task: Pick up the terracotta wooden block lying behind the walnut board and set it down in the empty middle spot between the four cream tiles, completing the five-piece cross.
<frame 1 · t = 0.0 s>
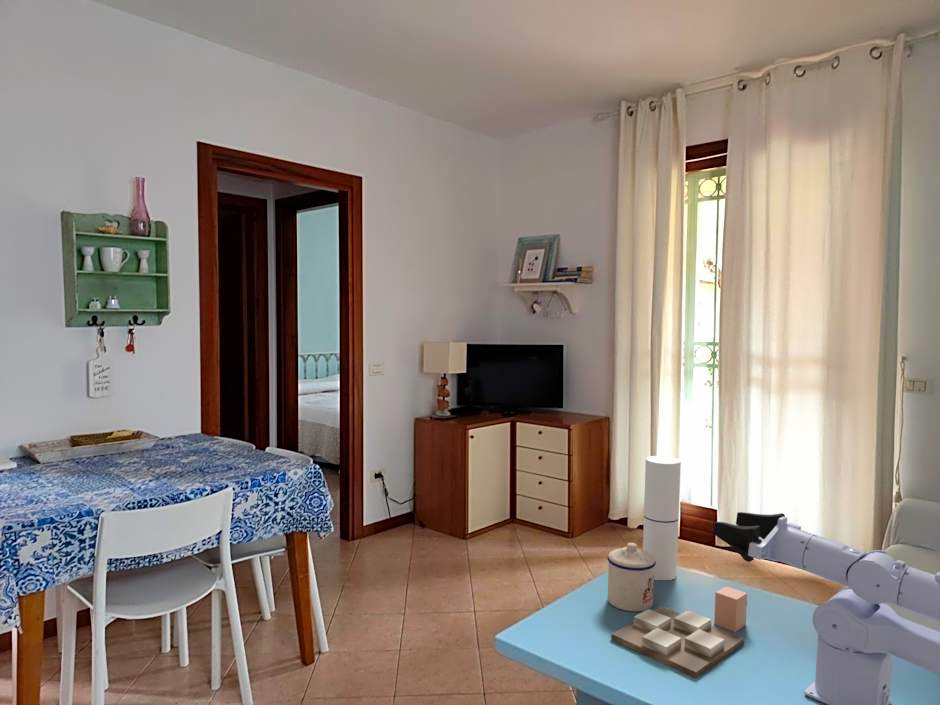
hand: (726, 522, 113), 22 cm above the table, tool horizontal, fingers open, 7 cm apart
teacup with lid: (630, 600, 133), on the table
terracotta block: (729, 624, 123), on the table
cylindrical container: (659, 574, 146), on the table
walnut board: (677, 641, 117), on the table
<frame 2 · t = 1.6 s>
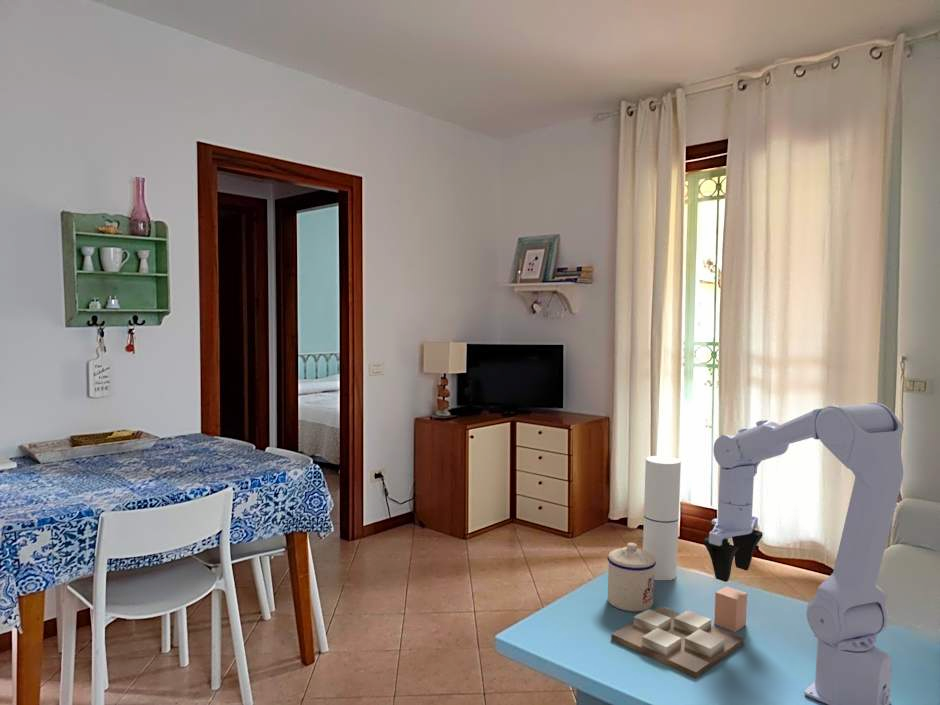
hand: (732, 574, 123), 9 cm above the table, tool pointing down, fingers open, 7 cm apart
nothing on the table moved.
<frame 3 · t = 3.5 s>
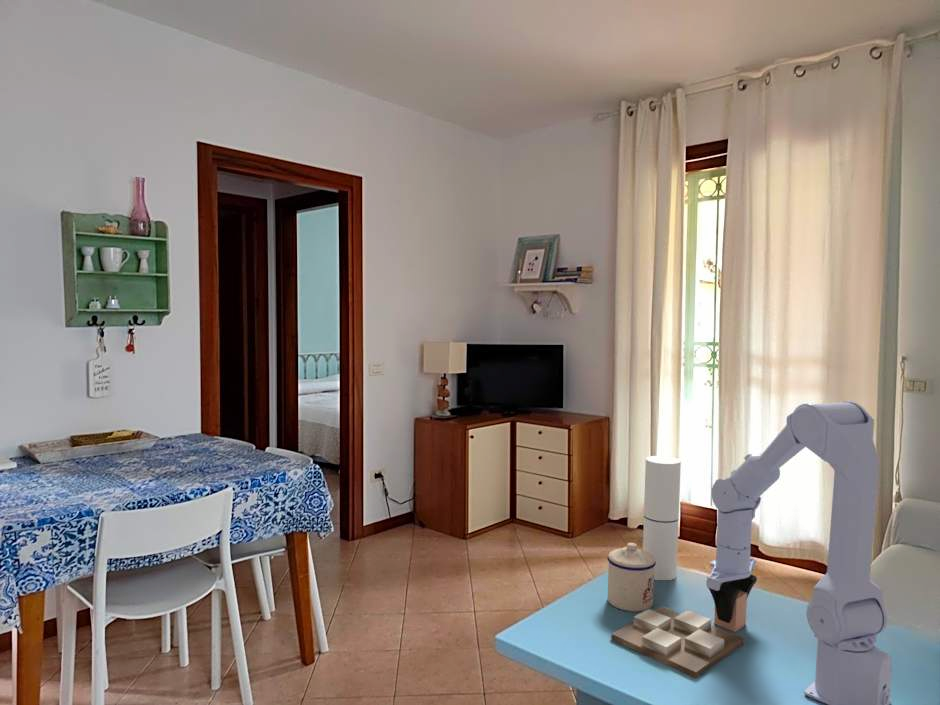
hand: (730, 616, 123), 1 cm above the table, tool pointing down, fingers closed on terracotta block, 4 cm apart
terracotta block: (729, 624, 123), on the table, touching gripper
everything else where it was.
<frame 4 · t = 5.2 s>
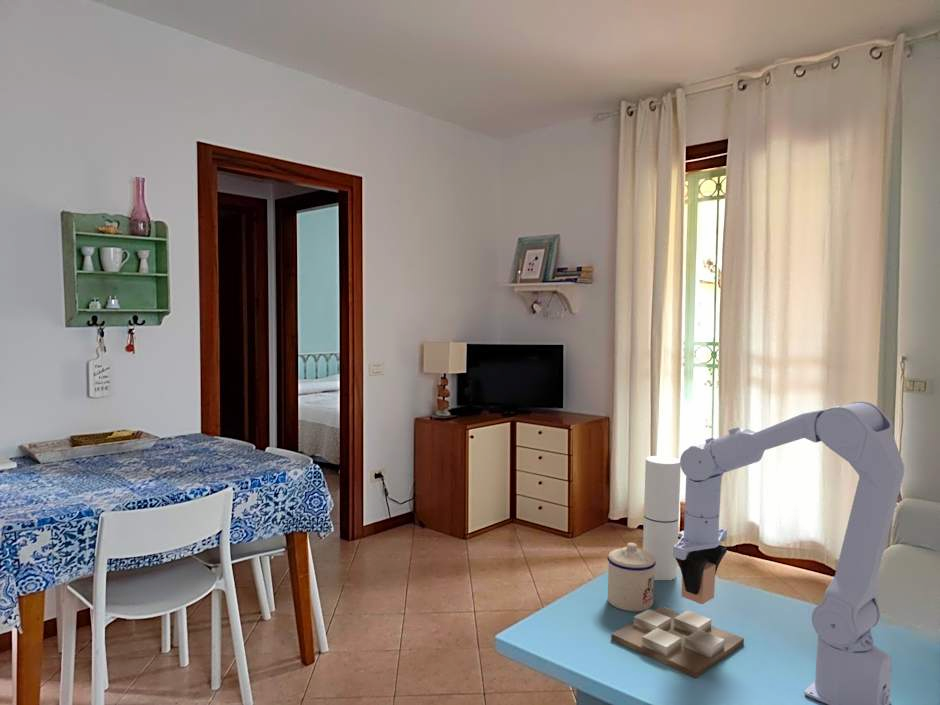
hand: (698, 588, 119), 8 cm above the table, tool pointing down, fingers closed on terracotta block, 4 cm apart
terracotta block: (697, 597, 119), point 7 cm above the table, touching gripper
everything else where it was.
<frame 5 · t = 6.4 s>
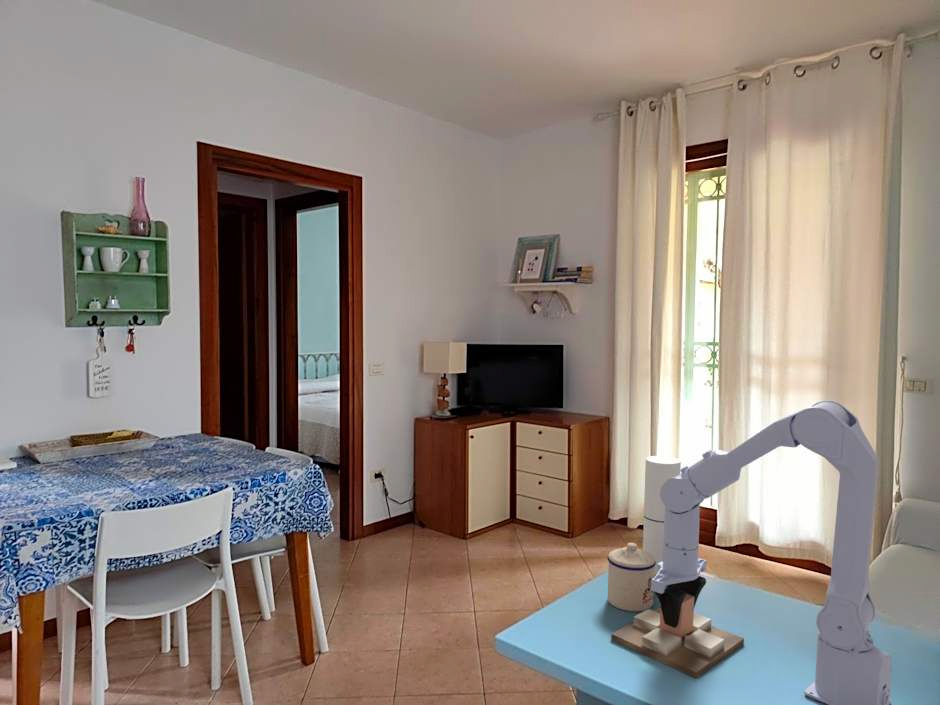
hand: (677, 621, 117), 4 cm above the table, tool pointing down, fingers closed on terracotta block, 4 cm apart
terracotta block: (676, 629, 117), point 2 cm above the table, touching gripper
everything else where it was.
when the fingers open (3 cm above the table, at t = 7.3 s): terracotta block stays where it is, resting on walnut board.
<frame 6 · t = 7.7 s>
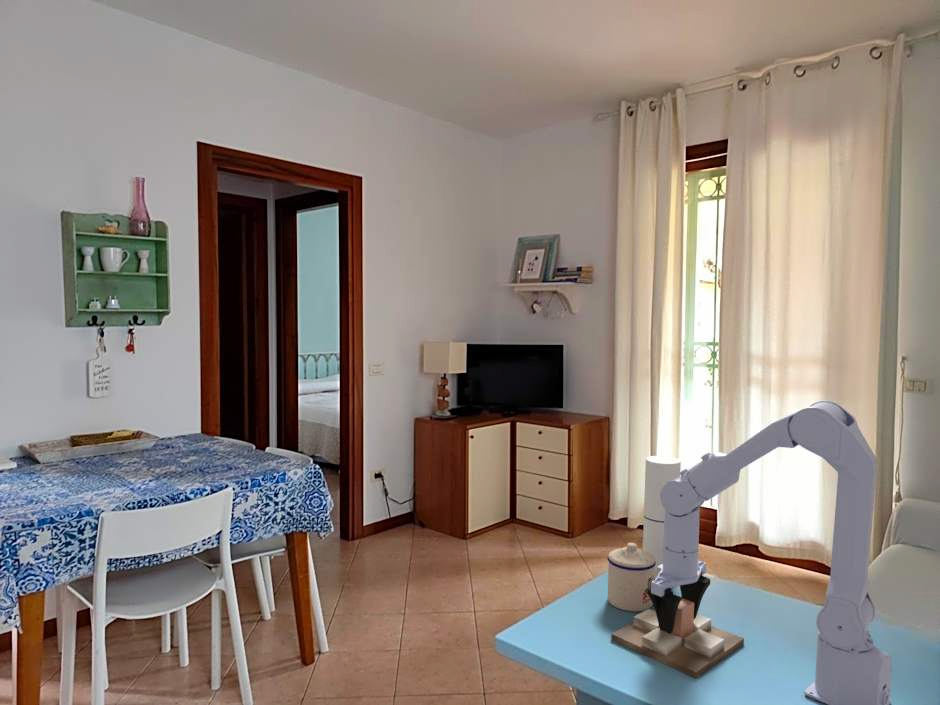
hand: (677, 623, 117), 3 cm above the table, tool pointing down, fingers open, 7 cm apart
terracotta block: (676, 635, 117), point 1 cm above the table, touching walnut board
everything else where it was.
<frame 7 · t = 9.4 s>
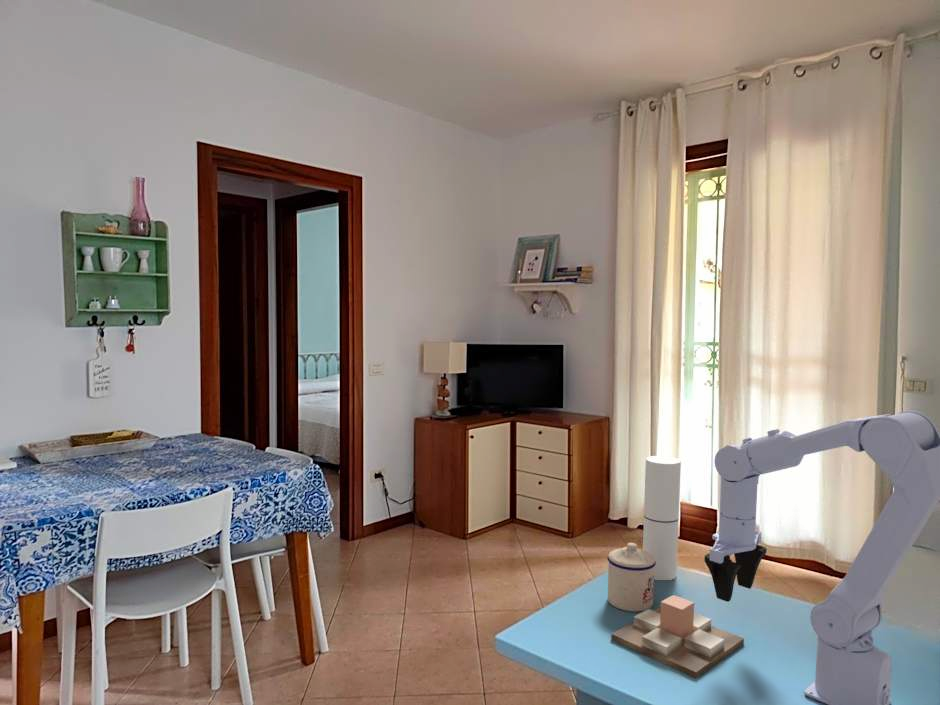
hand: (734, 592, 115), 9 cm above the table, tool pointing down, fingers open, 7 cm apart
nothing on the table moved.
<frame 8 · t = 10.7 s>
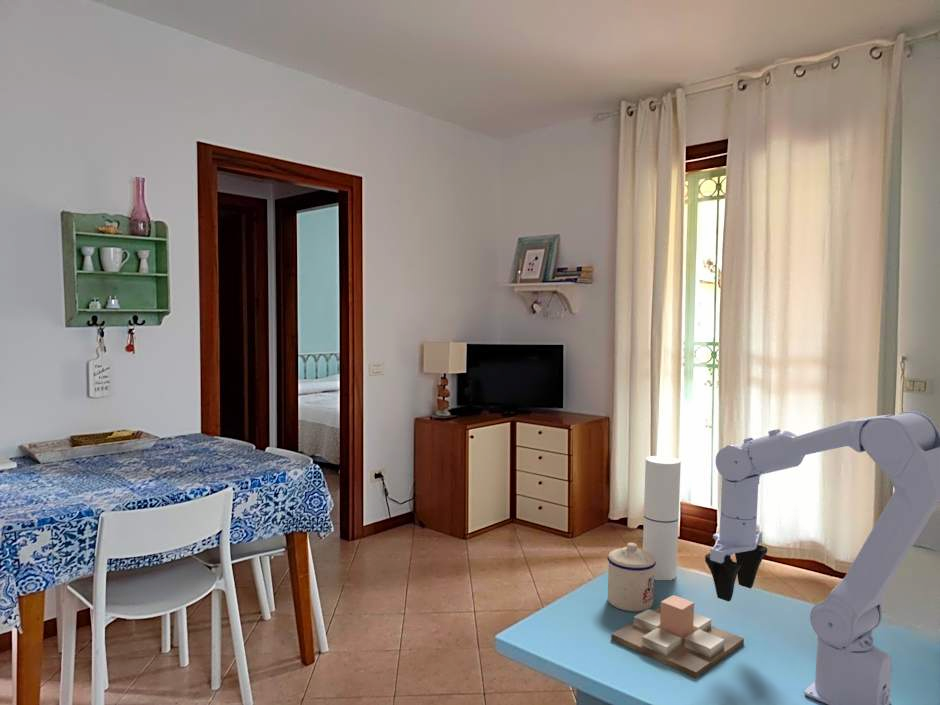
hand: (735, 592, 115), 9 cm above the table, tool pointing down, fingers open, 7 cm apart
nothing on the table moved.
at the end: terracotta block 0.2 cm off-centre on the walnut board, point 1.0 cm above the walnut board's base; terracotta block tilted 0°; the gripper is holding nothing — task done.
